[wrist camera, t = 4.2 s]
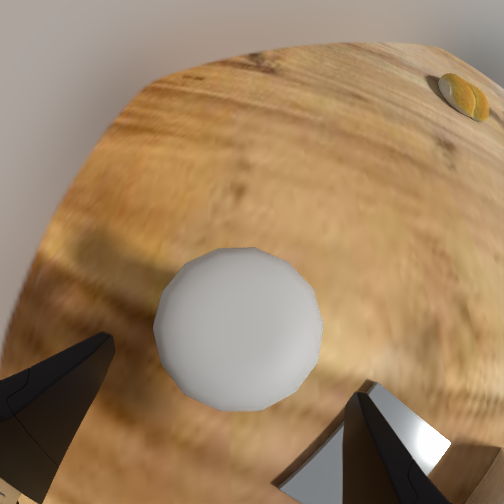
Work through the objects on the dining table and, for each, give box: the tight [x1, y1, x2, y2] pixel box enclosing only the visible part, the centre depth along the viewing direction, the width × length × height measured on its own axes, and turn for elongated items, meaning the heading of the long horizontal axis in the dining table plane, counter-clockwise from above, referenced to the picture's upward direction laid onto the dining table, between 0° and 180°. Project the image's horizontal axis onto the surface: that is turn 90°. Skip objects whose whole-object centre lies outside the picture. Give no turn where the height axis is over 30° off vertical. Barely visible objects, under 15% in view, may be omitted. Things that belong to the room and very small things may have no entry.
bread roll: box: [438, 73, 489, 122], centre depth 28 cm, size 8×9×4 cm
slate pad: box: [279, 382, 451, 504], centre depth 15 cm, size 10×10×1 cm
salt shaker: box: [153, 247, 323, 411], centre depth 12 cm, size 6×6×13 cm
